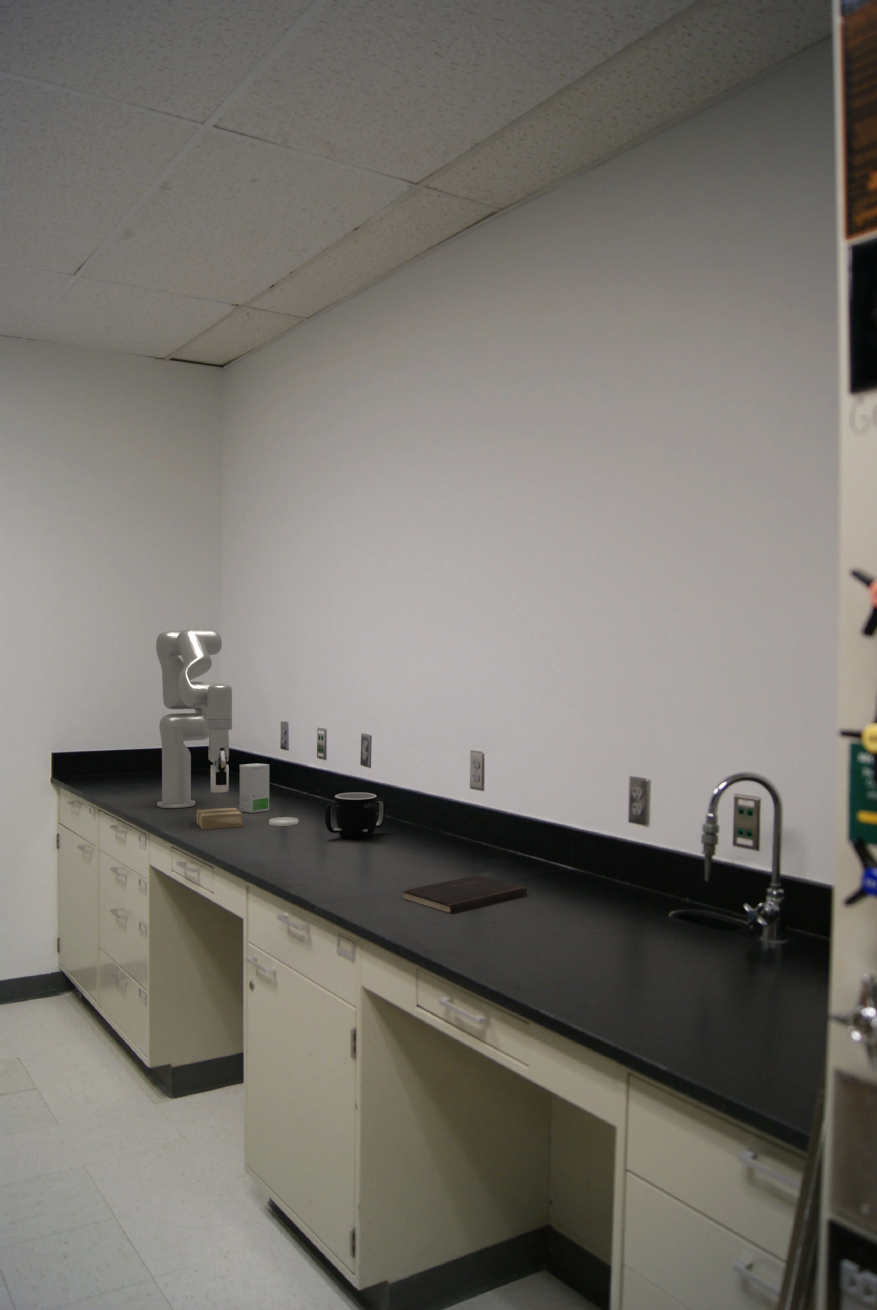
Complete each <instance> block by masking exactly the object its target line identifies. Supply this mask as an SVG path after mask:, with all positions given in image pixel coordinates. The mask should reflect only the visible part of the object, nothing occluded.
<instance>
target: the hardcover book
mask: <svg viewBox="0 0 877 1310" xmlns="http://www.w3.org/2000/svg"><path fill="white" fill-rule="evenodd" d="M401 891H402V893H403V894H404V895H403V899H404V900H407V901H410V902H414V903H416V904H420V905H422V906H426V907H430V908H433V909H436V910H439V911H441V912H446V913H448V912H449V913H448V914H450V913H452V914H456V913H461V912H463V911H464V910H465V911H468V910H473V909H477V908H480V907H479V906H481V907H484V906H483V905H485V906H489V905H492V904H491V903H494V904H497V903H496V902H498V903H501V901H502V902H505V901H504V900H506V901H509V900H508V899H510V900H514V899H517V898H516V897H519V898H521V896H523V897H525V896H524V895H526V896H527V895H528V894H527V892H528V891H527V889H526V887H525V886H521V885H519V884H514V883H510V882H506V881H503V880H500V879H495V878H491V877H489V876H483V875H480V874H475V875H472V876H471V875H470V876H467V877H465V876H464V877H462V878H461V877H460V878H456V879H452V880H448V881H442V882H441V881H440V882H438V883H432V884H428V885H422V886H418V887H414V888H408V889H404V890H401ZM513 898H514V899H513ZM488 904H489V905H488ZM476 907H477V908H476ZM472 908H473V909H472ZM455 912H456V913H455Z"/></svg>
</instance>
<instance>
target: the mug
mask: <svg viewBox="0 0 877 1310" xmlns="http://www.w3.org/2000/svg"><path fill="white" fill-rule="evenodd" d="M377 804H379V805H377ZM377 806H379V809H378V810H379V812H378V813H379V814H378V815H379V816H378V819H377ZM333 808H334V811H335V820H336V826H337V828H333V825H332V809H333ZM385 819H386V801H385V800H384V799H383V798H381V797H377V795H376V794H374V793H370V792H343V793H342V792H341V793H339V794H335V796H334V801H333V802H329V803H327V804H326V806H325V807H324V824H325V826H326V829H327V831H328V832H329V833H331V834H339V836H340V837H342V838H343V839H348V840H360V839H367V838H369V837H370V836H372V835H373V834H374V833H375V831H376V829H377V828H378V829H379V828H380V827H382V826H383V824H384V822H385Z"/></svg>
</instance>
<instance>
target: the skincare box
mask: <svg viewBox="0 0 877 1310" xmlns="http://www.w3.org/2000/svg"><path fill="white" fill-rule="evenodd" d="M238 810H239V811H240V812H241V813H248V814H252V813H253V814H254V813H259V812H260V813H261V812H267V811H270V764H267V763H257V762H256V763H247V764H246V763H245V764H239V809H238Z"/></svg>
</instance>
